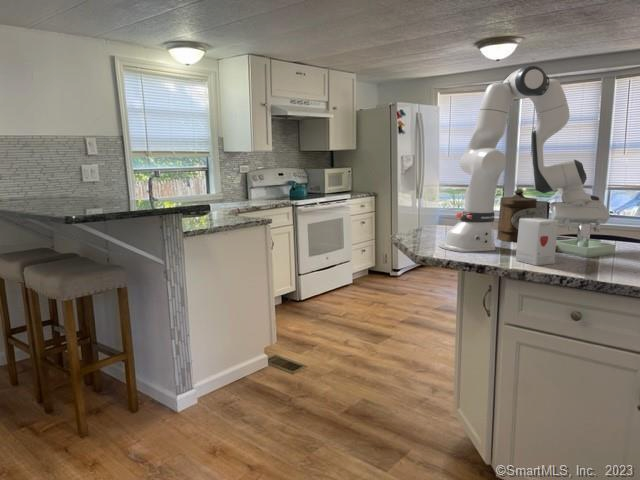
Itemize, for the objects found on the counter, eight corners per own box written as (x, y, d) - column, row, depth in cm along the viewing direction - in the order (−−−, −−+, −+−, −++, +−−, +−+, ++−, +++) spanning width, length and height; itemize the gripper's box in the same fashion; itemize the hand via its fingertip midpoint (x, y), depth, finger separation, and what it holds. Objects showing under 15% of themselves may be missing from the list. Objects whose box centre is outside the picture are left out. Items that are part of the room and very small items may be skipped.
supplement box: (535, 266, 156) (539, 221, 153) (514, 260, 164) (518, 218, 161) (555, 263, 159) (559, 220, 157) (533, 258, 167) (537, 216, 165)
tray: (586, 257, 169) (587, 248, 168) (550, 250, 182) (550, 241, 182) (614, 254, 176) (615, 244, 175) (577, 247, 189) (578, 238, 188)
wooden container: (518, 243, 196) (522, 191, 192) (490, 238, 209) (493, 188, 205) (541, 240, 203) (545, 190, 199) (512, 235, 216) (516, 188, 212)
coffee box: (547, 238, 209) (550, 202, 207) (532, 237, 211) (535, 201, 208) (542, 235, 218) (545, 200, 215) (527, 234, 220) (530, 200, 217)
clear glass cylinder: (583, 250, 176) (586, 224, 174) (573, 248, 180) (576, 223, 178) (590, 250, 178) (593, 224, 176) (580, 248, 181) (583, 222, 180)
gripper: (551, 196, 183) (559, 225, 175) (605, 197, 181) (616, 226, 173) (545, 207, 188) (553, 235, 180) (598, 207, 186) (608, 236, 178)
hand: (584, 230), depth 177 cm, fingers open, 8 cm apart
